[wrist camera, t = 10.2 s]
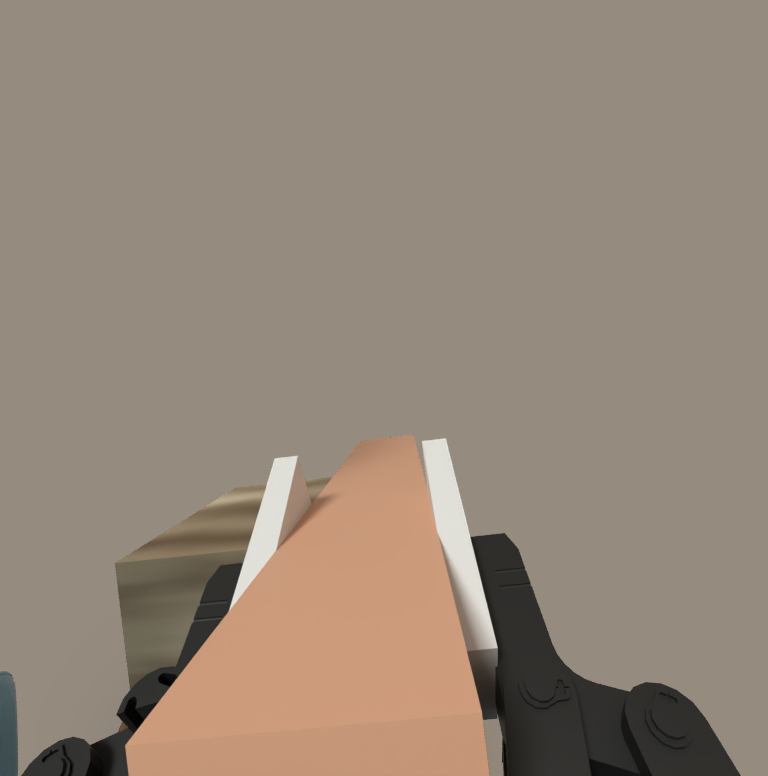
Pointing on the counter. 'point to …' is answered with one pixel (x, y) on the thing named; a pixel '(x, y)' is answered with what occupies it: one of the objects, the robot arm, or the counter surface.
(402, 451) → the batten
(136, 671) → the stand
